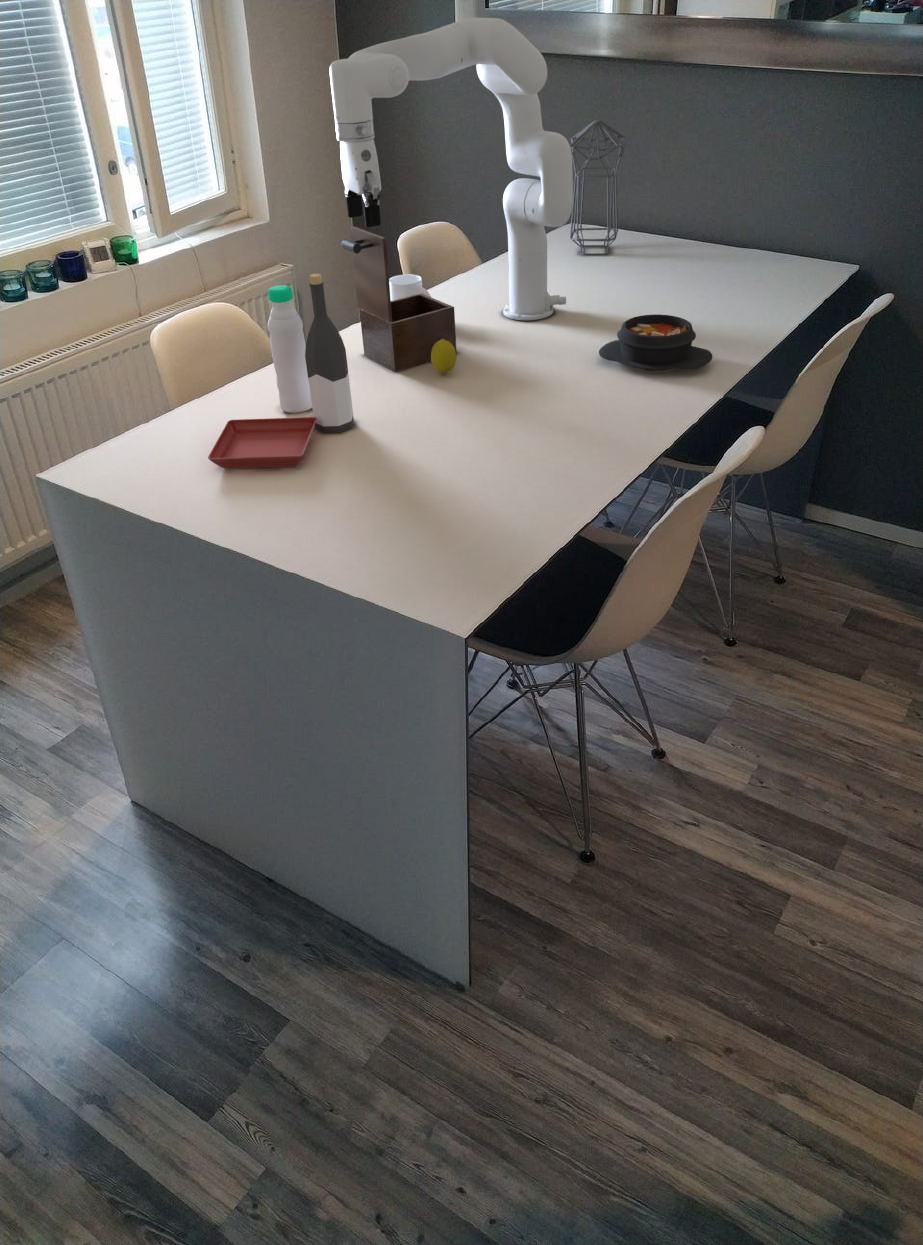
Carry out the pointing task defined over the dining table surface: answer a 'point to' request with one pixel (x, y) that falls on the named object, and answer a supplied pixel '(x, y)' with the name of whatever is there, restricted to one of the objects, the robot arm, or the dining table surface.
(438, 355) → the lemon
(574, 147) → the geometric lantern
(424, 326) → the chest
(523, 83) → the robot arm
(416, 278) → the mug
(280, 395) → the water bottle
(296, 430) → the plant saucer
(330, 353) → the wine bottle
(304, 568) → the dining table surface
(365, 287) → the lid
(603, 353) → the casserole
